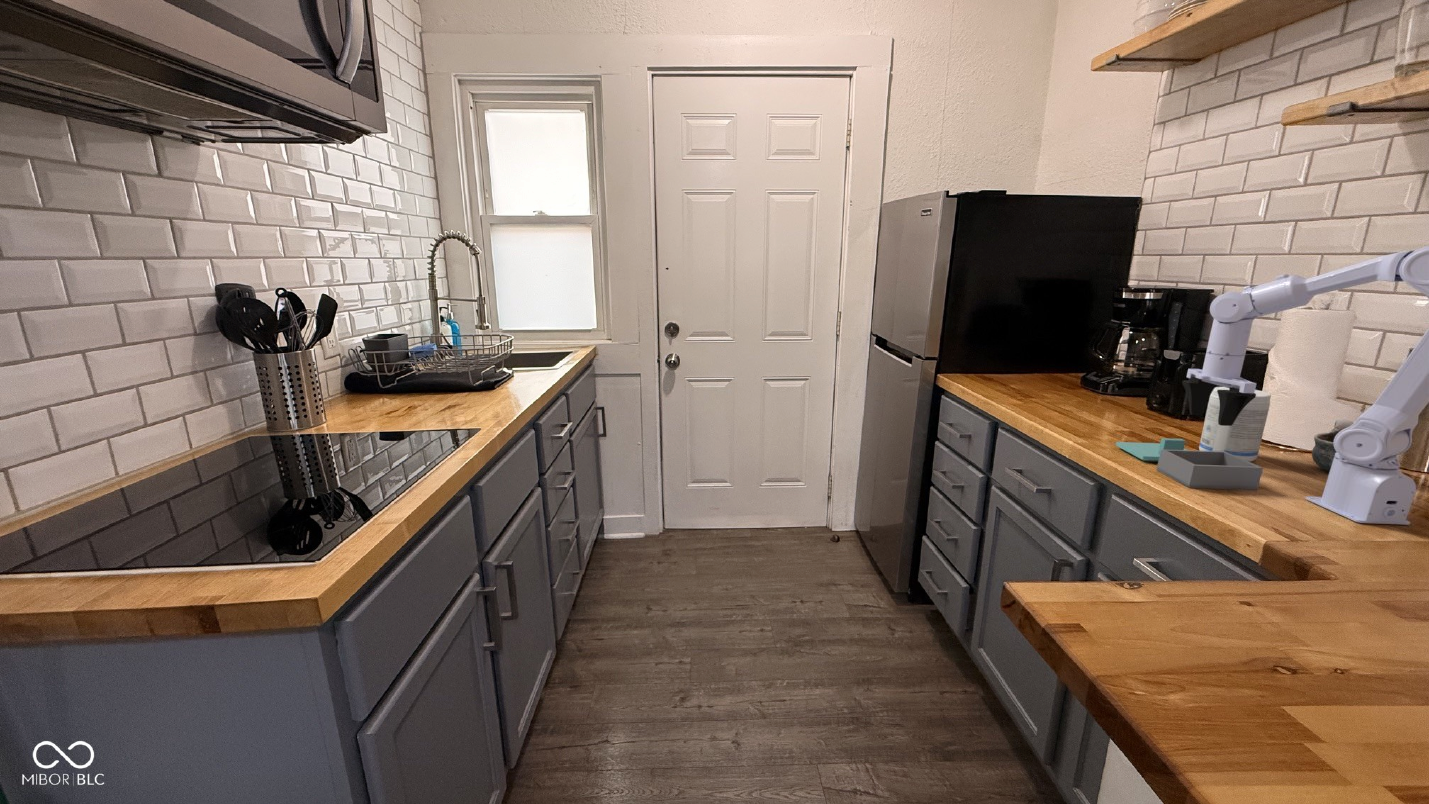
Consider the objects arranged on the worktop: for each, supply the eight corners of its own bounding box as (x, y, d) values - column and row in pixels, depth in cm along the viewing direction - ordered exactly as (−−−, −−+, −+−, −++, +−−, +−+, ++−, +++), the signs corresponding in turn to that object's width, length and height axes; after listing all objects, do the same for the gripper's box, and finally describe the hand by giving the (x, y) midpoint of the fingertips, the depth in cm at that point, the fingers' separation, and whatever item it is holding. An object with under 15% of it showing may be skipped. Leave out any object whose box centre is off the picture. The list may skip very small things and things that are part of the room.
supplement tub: (1262, 458, 121) (1279, 392, 117) (1248, 467, 115) (1266, 398, 112) (1205, 445, 128) (1220, 384, 125) (1190, 453, 123) (1205, 389, 120)
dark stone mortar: (1318, 476, 111) (1331, 428, 108) (1291, 458, 121) (1302, 413, 119) (1388, 485, 106) (1403, 434, 104) (1353, 465, 117) (1366, 419, 115)
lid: (1204, 466, 117) (1210, 442, 115) (1141, 464, 118) (1146, 440, 116) (1172, 451, 126) (1177, 429, 124) (1114, 449, 127) (1119, 427, 125)
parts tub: (1257, 490, 104) (1263, 467, 103) (1188, 487, 105) (1194, 465, 104) (1219, 472, 113) (1224, 451, 111) (1156, 470, 114) (1161, 449, 112)
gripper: (1177, 347, 117) (1164, 410, 120) (1233, 359, 103) (1217, 429, 106) (1213, 348, 116) (1199, 410, 120) (1274, 360, 102) (1256, 430, 106)
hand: (1210, 419), depth 113 cm, fingers open, 7 cm apart
